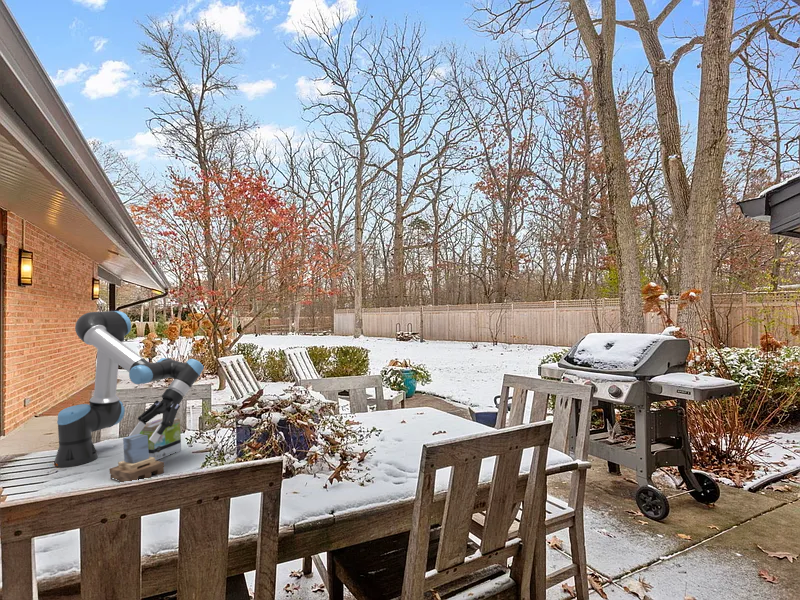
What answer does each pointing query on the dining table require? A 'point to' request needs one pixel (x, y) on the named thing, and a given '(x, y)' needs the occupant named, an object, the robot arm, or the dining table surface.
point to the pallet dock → (137, 472)
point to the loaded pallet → (135, 452)
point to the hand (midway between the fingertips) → (141, 439)
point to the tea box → (163, 439)
